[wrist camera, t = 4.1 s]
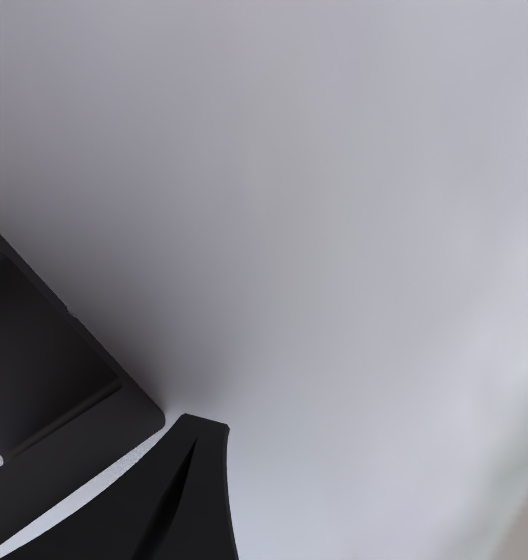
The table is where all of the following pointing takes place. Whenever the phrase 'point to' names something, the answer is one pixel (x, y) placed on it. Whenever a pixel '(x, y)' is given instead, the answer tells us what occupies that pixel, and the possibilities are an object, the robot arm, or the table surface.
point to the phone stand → (57, 400)
